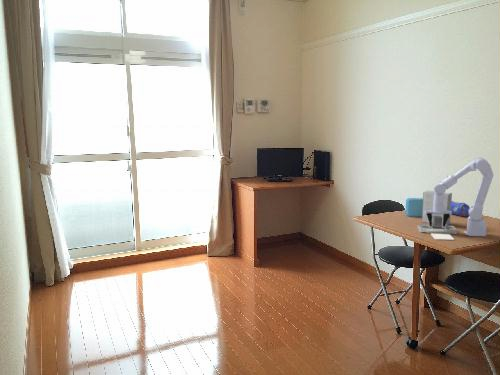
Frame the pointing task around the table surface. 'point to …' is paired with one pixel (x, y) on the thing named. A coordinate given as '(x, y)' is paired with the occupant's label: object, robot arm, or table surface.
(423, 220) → the hard drive box
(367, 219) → the table surface
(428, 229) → the grey rail
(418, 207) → the data package
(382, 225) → the table surface
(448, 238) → the mat
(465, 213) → the pencil case
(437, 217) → the square block
